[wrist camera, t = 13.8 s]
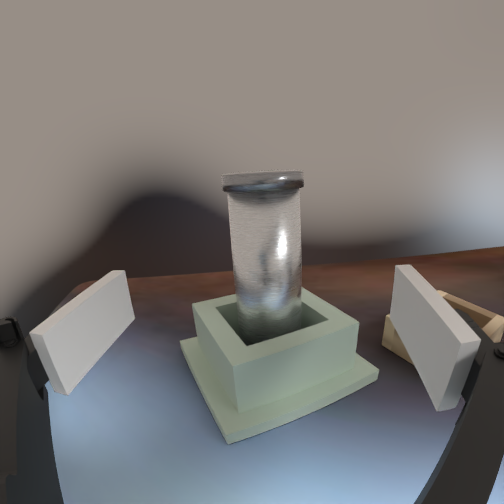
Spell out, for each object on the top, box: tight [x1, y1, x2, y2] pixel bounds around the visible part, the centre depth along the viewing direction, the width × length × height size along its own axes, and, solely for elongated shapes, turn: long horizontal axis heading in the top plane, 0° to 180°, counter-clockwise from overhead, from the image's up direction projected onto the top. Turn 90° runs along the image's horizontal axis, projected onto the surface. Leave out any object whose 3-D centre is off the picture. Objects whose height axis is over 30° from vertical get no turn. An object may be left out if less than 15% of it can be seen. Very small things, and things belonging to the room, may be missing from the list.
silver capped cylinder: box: [221, 170, 304, 346], centre depth 22 cm, size 5×5×15 cm
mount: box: [382, 290, 504, 366], centre depth 22 cm, size 9×9×3 cm
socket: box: [180, 287, 379, 444], centre depth 23 cm, size 12×12×5 cm
